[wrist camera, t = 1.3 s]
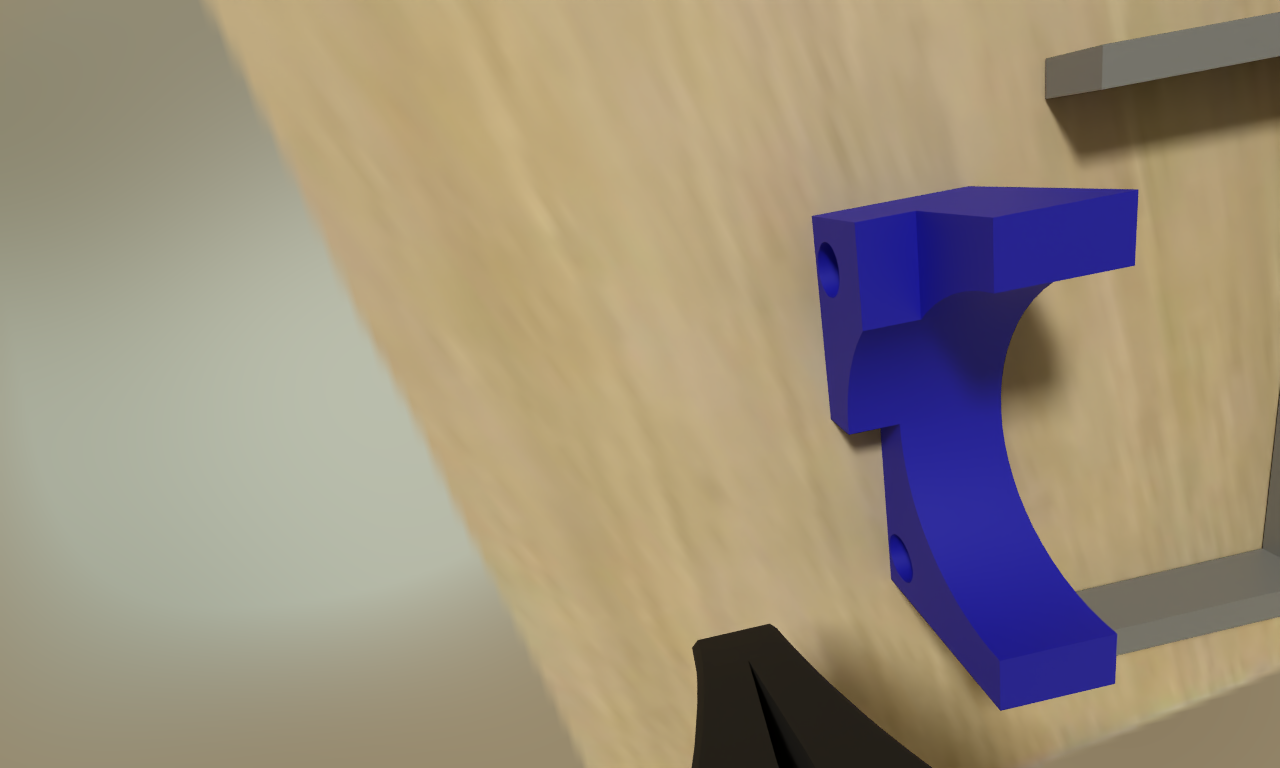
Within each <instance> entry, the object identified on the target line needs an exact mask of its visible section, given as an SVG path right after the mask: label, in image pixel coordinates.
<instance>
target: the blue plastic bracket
mask: <svg viewBox="0 0 1280 768" xmlns="http://www.w3.org/2000/svg"><path fill="white" fill-rule="evenodd" d="M1137 208H1138V190H1133V189H1080V188H1028V187H975V186H968V187H963V188H957V189H952V190H947V191H942V192H936V193H931V194H926V195H921V196H915V197H910V198H905V199H899V200H894V201H889V202H884V203H878V204H873V205H868V206H863V207H857V208H852V209H847V210H842V211H836V212H831V213H826V214H820V215H815V216H812V223H813V234H814V244H815V255H816V265H817V276H818V286H819V297H820V308H821V318H822V329H823V339H824V350H825V360H826V371H827V381H828V392H829V402H830V413H831V419H832V420H833V421H834V422H835V423H836V424H837V425H838V426H840V427H841V428H842V429H843V430H844V431H845V432H846V433H847V434H849V435H850V434H855V433H859V432H864V431H869V430H874V429H878V428H880V429H881V443H882V457H883V471H884V485H885V499H886V513H887V527H888V540H889V554H890V568H891V579H892V581H893V582H894V583H895V584H896V585H897V587H898V588H899V589H900V590H901V591H902V593H903V594H904V595H905V596H906V598H907V599H908V600H909V601H910V602H911V604H912V605H913V606H914V607H915V608H916V610H917V611H918V612H919V613H920V614H921V616H922V617H923V618H924V619H925V620H926V622H927V623H928V624H929V625H930V626H931V628H932V629H933V630H934V631H935V632H936V634H937V635H938V636H939V637H940V638H941V640H942V641H943V642H944V643H945V645H946V646H947V647H948V648H949V649H950V651H951V652H952V653H953V654H954V655H955V657H956V658H957V659H958V660H959V661H960V663H961V664H962V665H963V666H964V667H965V669H966V670H967V671H968V672H969V673H970V675H971V676H972V677H973V678H974V679H975V681H976V682H977V683H978V684H979V685H980V687H981V688H982V689H983V690H984V691H985V693H986V694H987V695H988V696H989V698H990V699H991V700H992V701H993V702H994V704H995V705H996V706H997V707H998V708H999V710H1000V711H1002V710H1006V709H1010V708H1014V707H1018V706H1023V705H1027V704H1031V703H1035V702H1040V701H1044V700H1048V699H1052V698H1056V697H1061V696H1065V695H1069V694H1073V693H1078V692H1082V691H1086V690H1090V689H1095V688H1099V687H1103V686H1107V685H1111V684H1115V672H1116V651H1117V633H1116V632H1115V631H1114V630H1112V629H1111V628H1110V627H1109V626H1108V625H1107V624H1106V623H1104V622H1103V621H1102V620H1101V619H1100V618H1099V617H1098V616H1097V615H1096V614H1095V613H1094V612H1093V611H1092V610H1091V609H1090V608H1089V607H1088V606H1087V605H1086V603H1085V602H1084V601H1083V600H1082V599H1081V598H1080V597H1079V595H1078V594H1077V593H1076V592H1075V591H1074V590H1073V588H1072V587H1071V586H1070V584H1069V583H1068V582H1067V581H1066V579H1065V578H1064V577H1063V575H1062V574H1061V572H1060V571H1059V570H1058V568H1057V567H1056V565H1055V564H1054V562H1053V561H1052V559H1051V558H1050V556H1049V554H1048V553H1047V551H1046V550H1045V548H1044V546H1043V545H1042V543H1041V541H1040V539H1039V537H1038V535H1037V534H1036V532H1035V530H1034V528H1033V526H1032V524H1031V522H1030V519H1029V517H1028V515H1027V513H1026V511H1025V508H1024V506H1023V503H1022V501H1021V499H1020V496H1019V493H1018V491H1017V488H1016V485H1015V482H1014V479H1013V475H1012V472H1011V468H1010V464H1009V461H1008V456H1007V452H1006V447H1005V442H1004V435H1003V428H1002V417H1001V384H1002V374H1003V367H1004V362H1005V357H1006V353H1007V349H1008V346H1009V343H1010V340H1011V337H1012V334H1013V332H1014V330H1015V328H1016V326H1017V323H1018V321H1019V320H1020V318H1021V316H1022V315H1023V313H1024V311H1025V310H1026V309H1027V307H1028V306H1029V305H1030V303H1031V302H1032V301H1033V299H1034V298H1035V297H1036V296H1037V295H1038V294H1039V293H1040V292H1041V291H1042V290H1043V289H1045V288H1046V287H1047V286H1049V285H1050V284H1051V283H1053V282H1055V281H1060V280H1065V279H1070V278H1075V277H1080V276H1085V275H1090V274H1095V273H1100V272H1105V271H1110V270H1115V269H1120V268H1125V267H1130V266H1135V250H1136V229H1137Z"/></svg>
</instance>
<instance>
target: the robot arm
mask: <svg viewBox="0 0 1280 768" xmlns="http://www.w3.org/2000/svg"><path fill="white" fill-rule="evenodd" d="M692 649H693V655H694V660H695V666H696V671H697V719H696V734H695V746H694V755H693V762H692V768H932V767H931V766H929V765H928V764H926V763H925V762H924V761H922V760H921V759H920V758H918V757H917V756H916V755H914V754H913V753H912V752H910V751H909V750H908V749H906V748H905V747H904V746H903V745H901V744H900V743H899V742H898V741H896V740H895V739H894V738H893V737H891V736H890V735H889V734H888V733H886V732H885V731H884V730H883V729H881V728H880V727H879V726H878V725H877V724H875V723H874V722H873V721H872V720H871V719H869V718H868V717H867V716H866V715H865V714H864V713H862V712H861V711H860V710H859V709H858V708H857V707H856V706H855V705H853V704H852V703H851V702H850V701H849V700H848V699H847V698H846V697H845V696H843V695H842V694H841V693H840V692H839V691H838V690H837V689H836V688H834V687H833V686H832V685H831V684H830V683H829V682H828V681H827V680H826V679H825V678H824V677H823V676H822V675H821V674H820V673H819V672H818V671H817V670H816V669H815V668H814V667H813V666H812V665H811V664H810V663H809V662H808V661H807V660H806V659H805V658H804V657H803V656H802V655H801V654H800V653H799V652H798V651H797V650H796V649H795V648H794V647H793V646H792V645H791V644H790V643H789V642H788V640H787V639H786V638H785V637H784V636H783V635H782V634H781V633H780V631H779V630H778V629H777V628H775V627H774V626H772V625H771V624H766V625H762V626H758V627H753V628H749V629H745V630H740V631H736V632H732V633H727V634H723V635H718V636H714V637H710V638H705V639H701V640H698V641H697V642H696V643H695V645H694V646H693V647H692Z"/></svg>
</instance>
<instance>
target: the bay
mask: <svg viewBox="0 0 1280 768" xmlns="http://www.w3.org/2000/svg"><path fill="white" fill-rule="evenodd" d="M1277 56H1280V12H1277V13H1272V14H1266V15H1261V16H1256V17H1250V18H1245V19H1239V20H1234V21H1229V22H1223V23H1218V24H1212V25H1207V26H1202V27H1196V28H1191V29H1185V30H1180V31H1174V32H1169V33H1164V34H1158V35H1153V36H1147V37H1142V38H1137V39H1131V40H1126V41H1120V42H1115V43H1109V44H1104V45H1100V46H1096V47H1092V48H1088V49H1084V50H1080V51H1075V52H1071V53H1067V54H1063V55H1059V56H1055V57H1051V58H1047V59H1046V99H1048V98H1054V97H1060V96H1066V95H1072V94H1078V93H1084V92H1091V91H1097V90H1103V89H1108V88H1113V87H1118V86H1124V85H1129V84H1134V83H1140V82H1145V81H1150V80H1156V79H1161V78H1166V77H1171V76H1177V75H1182V74H1187V73H1193V72H1198V71H1203V70H1209V69H1214V68H1219V67H1224V66H1230V65H1235V64H1240V63H1246V62H1251V61H1256V60H1262V59H1267V58H1272V57H1277ZM1076 593H1077V594H1078V595H1079V597H1080V598H1081V599H1082V600H1083V601H1084V602H1085V603H1086V605H1087V606H1088V607H1089V608H1090V609H1091V610H1092V611H1093V612H1094V613H1095V614H1096V615H1097V616H1098V617H1099V618H1100V619H1101V620H1102V621H1103V622H1104V623H1106V624H1107V625H1108V626H1109V627H1110V628H1111V629H1112V630H1114V631H1115V632H1116V633H1117V651H1116V656H1117V655H1121V654H1125V653H1130V652H1134V651H1138V650H1142V649H1146V648H1150V647H1155V646H1159V645H1163V644H1167V643H1171V642H1176V641H1180V640H1184V639H1188V638H1192V637H1197V636H1201V635H1205V634H1209V633H1213V632H1217V631H1222V630H1226V629H1230V628H1234V627H1238V626H1243V625H1247V624H1251V623H1255V622H1259V621H1263V620H1268V619H1272V618H1276V617H1280V398H1279V407H1278V416H1277V425H1276V433H1275V442H1274V451H1273V460H1272V469H1271V478H1270V487H1269V495H1268V504H1267V513H1266V522H1265V531H1264V540H1263V548H1262V549H1258V550H1254V551H1249V552H1245V553H1241V554H1237V555H1232V556H1228V557H1224V558H1219V559H1215V560H1211V561H1206V562H1202V563H1198V564H1193V565H1189V566H1185V567H1181V568H1176V569H1172V570H1168V571H1163V572H1159V573H1155V574H1150V575H1146V576H1142V577H1138V578H1133V579H1129V580H1125V581H1120V582H1116V583H1112V584H1107V585H1103V586H1099V587H1095V588H1090V589H1086V590H1082V591H1077V592H1076Z"/></svg>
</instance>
